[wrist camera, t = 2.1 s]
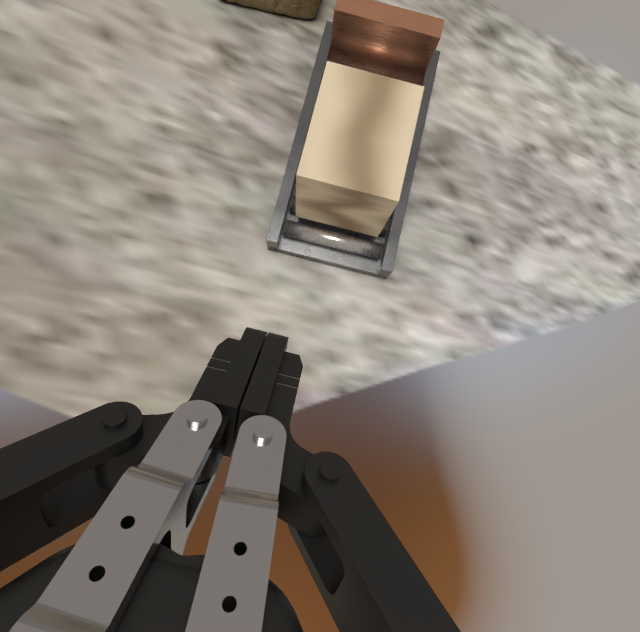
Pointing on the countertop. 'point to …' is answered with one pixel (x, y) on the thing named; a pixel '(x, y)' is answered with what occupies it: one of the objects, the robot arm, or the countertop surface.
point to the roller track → (336, 46)
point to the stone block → (284, 7)
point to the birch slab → (356, 149)
